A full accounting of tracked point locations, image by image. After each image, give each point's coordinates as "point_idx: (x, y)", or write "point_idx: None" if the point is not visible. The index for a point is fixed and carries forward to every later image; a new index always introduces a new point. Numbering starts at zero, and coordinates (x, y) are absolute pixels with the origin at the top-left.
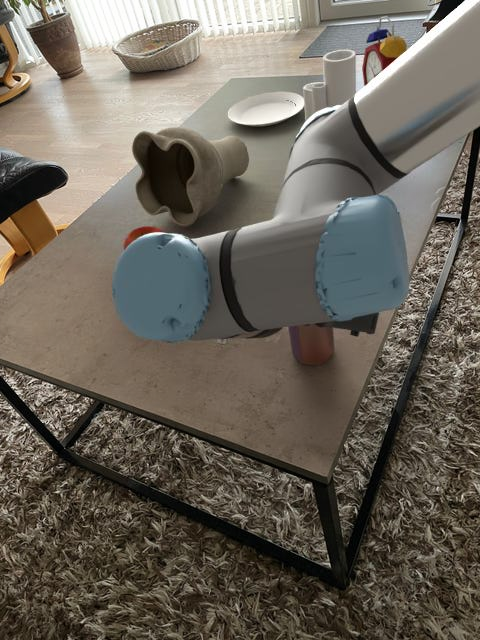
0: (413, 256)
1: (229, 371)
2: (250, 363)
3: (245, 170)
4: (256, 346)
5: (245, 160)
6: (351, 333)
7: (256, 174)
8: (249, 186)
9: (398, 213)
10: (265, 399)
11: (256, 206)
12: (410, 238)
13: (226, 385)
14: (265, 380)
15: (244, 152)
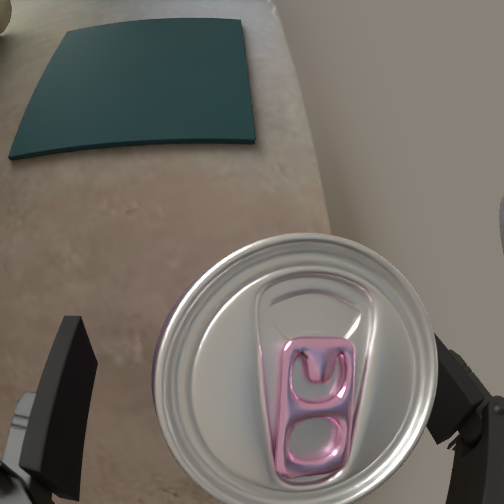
0: (296, 81)
1: (95, 459)
2: (120, 431)
3: (8, 22)
4: (106, 384)
5: (6, 10)
6: (451, 446)
7: (23, 22)
8: (13, 37)
9: (240, 21)
10: (200, 493)
11: (21, 57)
12: (275, 53)
13: (112, 488)
14: (174, 459)
15: (4, 1)
